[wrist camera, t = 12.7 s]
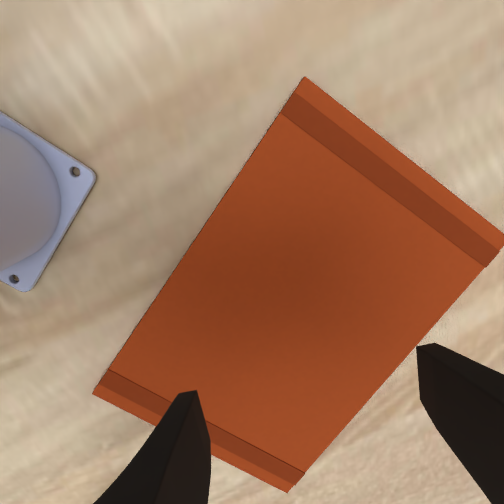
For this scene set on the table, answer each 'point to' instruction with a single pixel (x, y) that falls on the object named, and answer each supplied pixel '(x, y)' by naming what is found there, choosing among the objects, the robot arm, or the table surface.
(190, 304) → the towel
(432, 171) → the table surface
